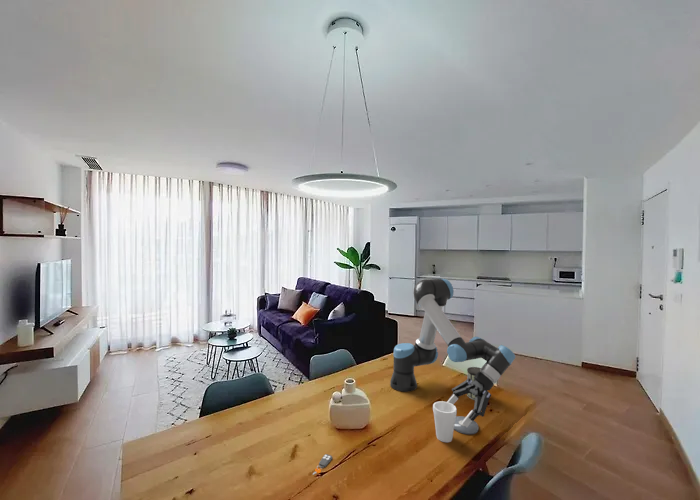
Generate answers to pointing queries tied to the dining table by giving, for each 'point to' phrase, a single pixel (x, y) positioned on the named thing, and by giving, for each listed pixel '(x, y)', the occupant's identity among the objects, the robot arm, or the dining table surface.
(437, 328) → the robot arm
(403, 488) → the dining table surface
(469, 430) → the trivet
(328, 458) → the key chain
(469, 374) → the coffee can
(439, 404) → the foam cup
